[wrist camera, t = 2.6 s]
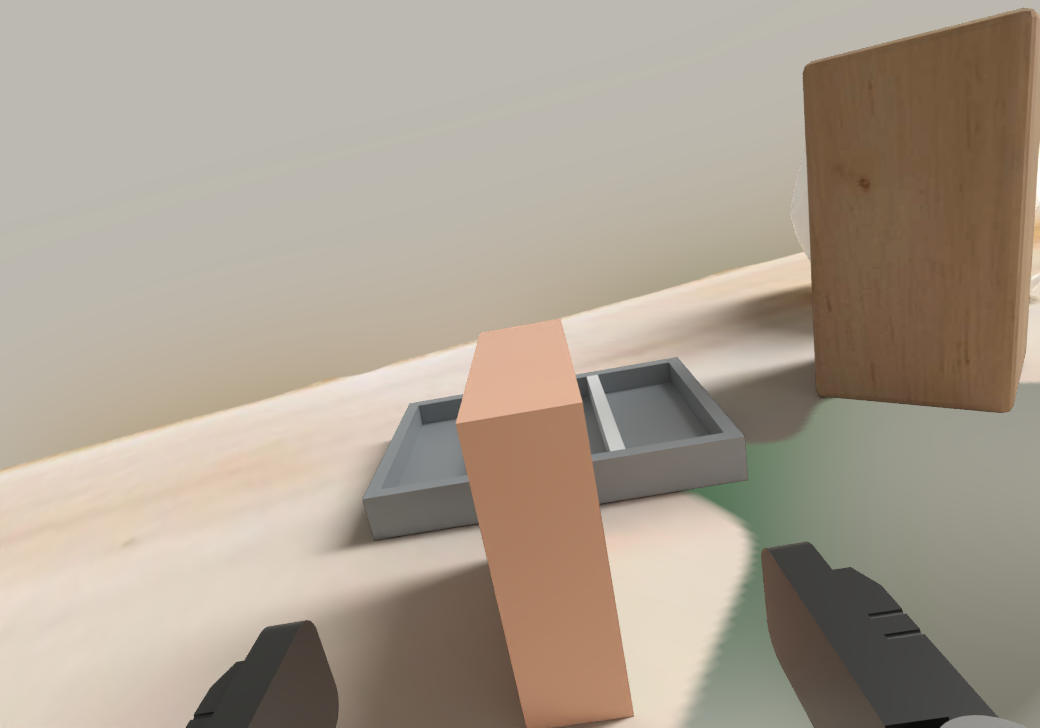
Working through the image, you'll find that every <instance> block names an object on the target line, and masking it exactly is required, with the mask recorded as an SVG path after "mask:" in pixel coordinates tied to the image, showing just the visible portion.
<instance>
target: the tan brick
mask: <svg viewBox="0 0 1040 728" xmlns="http://www.w3.org/2000/svg"><path fill="white" fill-rule="evenodd" d="M456 428H457V432H458V436H459V441H460V445H461V449H462V454H463V458H464V462H465V466H466V471H467V475H468V479H469V484H470V488H471V492H472V496H473V501H474V505H475V509H476V514H477V518H478V522H479V527H480V531H481V535H482V539H483V544H484V548H485V552H486V557H487V561H488V565H489V569H490V574H491V578H492V582H493V587H494V591H495V595H496V599H497V604H498V608H499V612H500V617H501V621H502V625H503V630H504V634H505V638H506V642H507V647H508V651H509V655H510V660H511V664H512V668H513V672H514V677H515V681H516V685H517V690H518V694H519V698H520V702H521V707H522V711H523V715H524V720H525V724H526V728H553V727H560V726H567V725H574V724H582V723H589V722H596V721H603V720H610V719H617V718H625V717H632V716H634V713H633V707H632V701H631V694H630V688H629V682H628V676H627V670H626V664H625V658H624V652H623V646H622V640H621V634H620V627H619V621H618V615H617V609H616V603H615V597H614V591H613V585H612V579H611V573H610V567H609V561H608V554H607V548H606V542H605V536H604V530H603V524H602V518H601V512H600V506H599V500H598V494H597V487H596V481H595V475H594V469H593V463H592V457H591V451H590V445H589V439H588V433H587V427H586V420H585V414H584V408H583V402H582V398H581V395H580V391H579V387H578V383H577V380H576V376H575V372H574V368H573V364H572V361H571V357H570V353H569V349H568V345H567V342H566V338H565V334H564V330H563V327H562V323H561V319H555V320H549V321H544V322H539V323H533V324H527V325H521V326H516V327H511V328H505V329H499V330H493V331H488V332H482V333H480V335H479V339H478V342H477V346H476V350H475V353H474V357H473V361H472V365H471V368H470V372H469V376H468V379H467V383H466V387H465V391H464V394H463V398H462V402H461V406H460V409H459V413H458V417H457V420H456Z"/></svg>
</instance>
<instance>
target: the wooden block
mask: <svg viewBox="0 0 1040 728" xmlns="http://www.w3.org/2000/svg"><path fill="white" fill-rule="evenodd" d="M803 90H804V91H803V92H804V115H805V139H806V162H807V186H808V209H809V233H810V256H811V280H812V303H813V327H814V351H815V374H816V390H817V392H818V395H820V396H823V397H834V398H845V399H856V400H867V401H877V402H888V403H889V402H890V403H900V404H911V405H921V406H932V407H943V408H954V409H964V410H976V411H986V412H997V413H1004V412H1009V411H1010V410H1011V409H1012V407H1013V405H1014V402H1015V397H1016V393H1017V388H1018V384H1019V380H1020V375H1021V371H1022V367H1023V362H1024V358H1025V353H1026V343H1027V327H1028V312H1029V296H1030V281H1031V266H1032V250H1033V235H1034V219H1035V204H1036V188H1037V173H1038V157H1039V141H1040V15H1039V14H1038V13H1037V12H1036V11H1035V10H1034V9H1028V8H1021V9H1017V10H1013V11H1009V12H1006V13H1001V14H997V15H994V16H989V17H986V18H982V19H978V20H974V21H970V22H966V23H962V24H958V25H954V26H951V27H946V28H942V29H938V30H934V31H930V32H926V33H922V34H918V35H915V36H911V37H907V38H902V39H898V40H895V41H891V42H887V43H883V44H879V45H875V46H871V47H867V48H863V49H859V50H855V51H851V52H847V53H843V54H839V55H835V56H831V57H827V58H824V59H820V60H815V61H812V62H810V63H809V64H807V65H806V66H805V68H804V71H803Z"/></svg>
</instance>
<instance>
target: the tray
mask: <svg viewBox="0 0 1040 728" xmlns="http://www.w3.org/2000/svg"><path fill="white" fill-rule="evenodd" d="M575 376H576V380H577V383H578V387H579V391H580V395H581V398H582V402H583V408H584V414H585V420H586V427H587V433H588V439H589V445H590V451H591V457H592V463H593V469H594V475H595V481H596V487H597V494H598V500H599V504H602V503H608V502H614V501H620V500H627V499H633V498H639V497H645V496H652V495H658V494H664V493H670V492H676V491H683V490H689V489H695V488H701V487H708V486H714V485H720V484H726V483H732V482H739V481H745V480H748V472H747V459H746V446H745V436H744V435H743V434H742V433H741V431H740V430H739V429H738V428H737V427H736V426H735V424H734V423H733V422H732V421H731V420H730V419H729V417H728V416H727V415H726V414H725V413H724V411H723V410H722V409H721V408H720V407H719V406H718V404H717V403H716V402H715V401H714V400H713V399H712V397H711V396H710V395H709V394H708V393H707V391H706V390H705V389H704V388H703V387H702V386H701V384H700V383H699V382H698V381H697V380H696V379H695V377H694V376H693V375H692V374H691V373H690V371H689V370H688V369H687V368H686V367H685V366H684V364H683V363H682V362H681V361H680V360H679V359H678V357H676V358H670V359H664V360H659V361H653V362H647V363H641V364H635V365H630V366H624V367H618V368H612V369H606V370H601V371H595V372H589V373H583V374H578V375H575ZM462 398H463V394H462V395H456V396H450V397H445V398H439V399H433V400H427V401H422V402H416V403H410V404H409V406H408V408H407V410H406V412H405V414H404V416H403V418H402V420H401V422H400V424H399V426H398V428H397V430H396V432H395V434H394V436H393V438H392V440H391V442H390V444H389V446H388V448H387V450H386V452H385V454H384V456H383V458H382V460H381V462H380V464H379V466H378V468H377V471H376V473H375V475H374V477H373V479H372V481H371V483H370V485H369V487H368V489H367V491H366V493H365V495H364V497H363V499H362V500H363V503H364V507H365V510H366V514H367V517H368V520H369V524H370V527H371V531H372V534H373V537H374V540H377V539H383V538H389V537H396V536H402V535H408V534H414V533H421V532H427V531H433V530H439V529H446V528H452V527H458V526H464V525H471V524H477V523H479V522H478V518H477V514H476V509H475V505H474V501H473V496H472V492H471V488H470V484H469V479H468V475H467V471H466V466H465V462H464V458H463V454H462V449H461V445H460V441H459V436H458V432H457V428H456V420H457V417H458V413H459V409H460V406H461V402H462Z"/></svg>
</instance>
